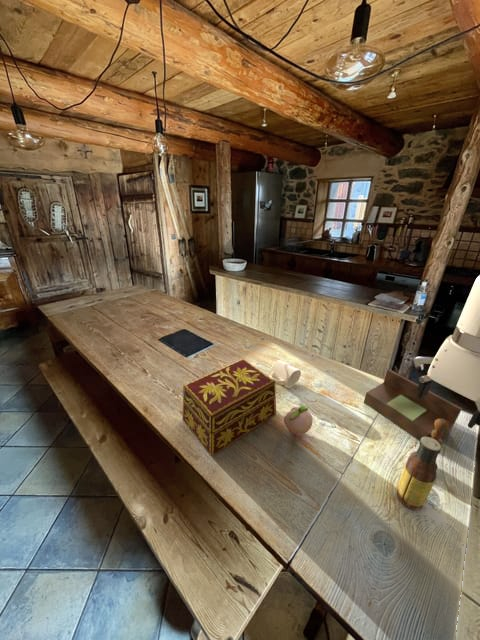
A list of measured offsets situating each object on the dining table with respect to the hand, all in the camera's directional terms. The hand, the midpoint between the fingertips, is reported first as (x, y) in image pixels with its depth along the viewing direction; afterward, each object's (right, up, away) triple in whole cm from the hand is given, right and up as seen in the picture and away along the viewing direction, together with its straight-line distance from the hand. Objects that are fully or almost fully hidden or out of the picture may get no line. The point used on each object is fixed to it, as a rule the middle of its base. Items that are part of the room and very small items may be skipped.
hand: (445, 409), depth 57 cm
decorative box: (-47, -15, +36) cm, 62 cm away
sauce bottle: (0, -27, +13) cm, 30 cm away
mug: (-26, -7, +54) cm, 60 cm away
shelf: (+14, -15, +38) cm, 43 cm away
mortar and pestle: (+9, -24, +21) cm, 33 cm away
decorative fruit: (-25, -18, +31) cm, 44 cm away
